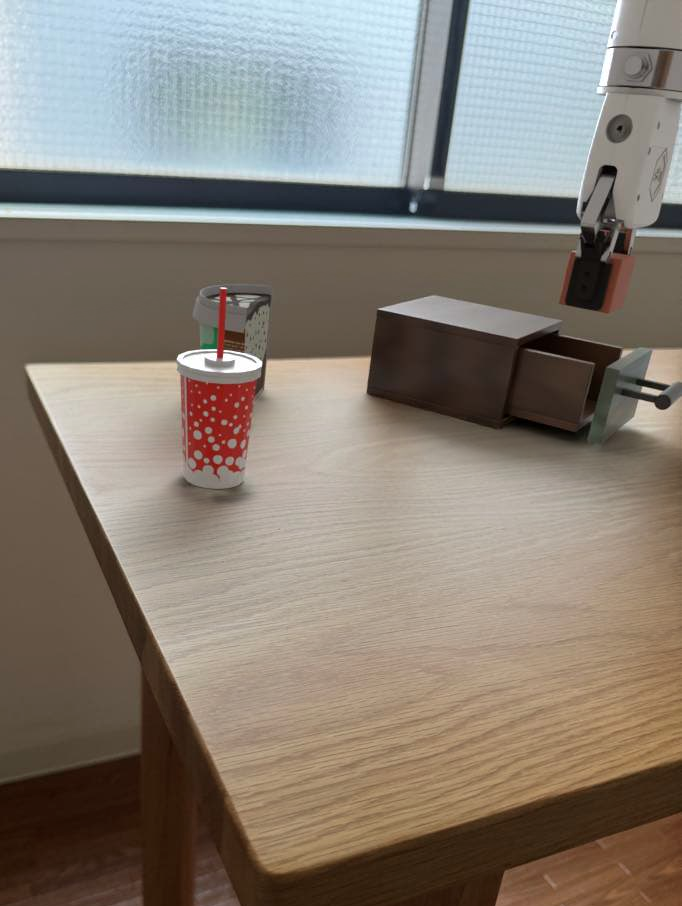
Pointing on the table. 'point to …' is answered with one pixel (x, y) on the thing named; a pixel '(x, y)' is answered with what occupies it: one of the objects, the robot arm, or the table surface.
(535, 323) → the cabinet
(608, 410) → the drawer
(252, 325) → the food container
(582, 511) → the table surface
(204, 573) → the table surface
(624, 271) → the block
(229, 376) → the beverage cup
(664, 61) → the robot arm
